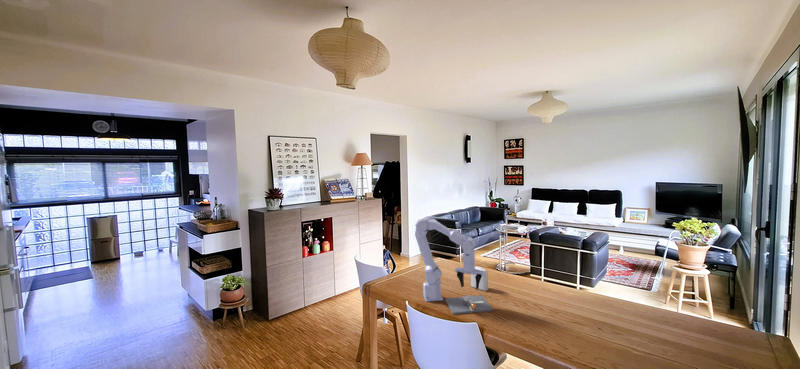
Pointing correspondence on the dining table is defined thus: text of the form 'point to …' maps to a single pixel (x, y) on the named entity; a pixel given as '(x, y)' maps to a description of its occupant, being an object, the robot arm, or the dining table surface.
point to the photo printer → (483, 281)
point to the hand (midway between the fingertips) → (469, 287)
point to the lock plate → (461, 307)
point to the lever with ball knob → (469, 301)
